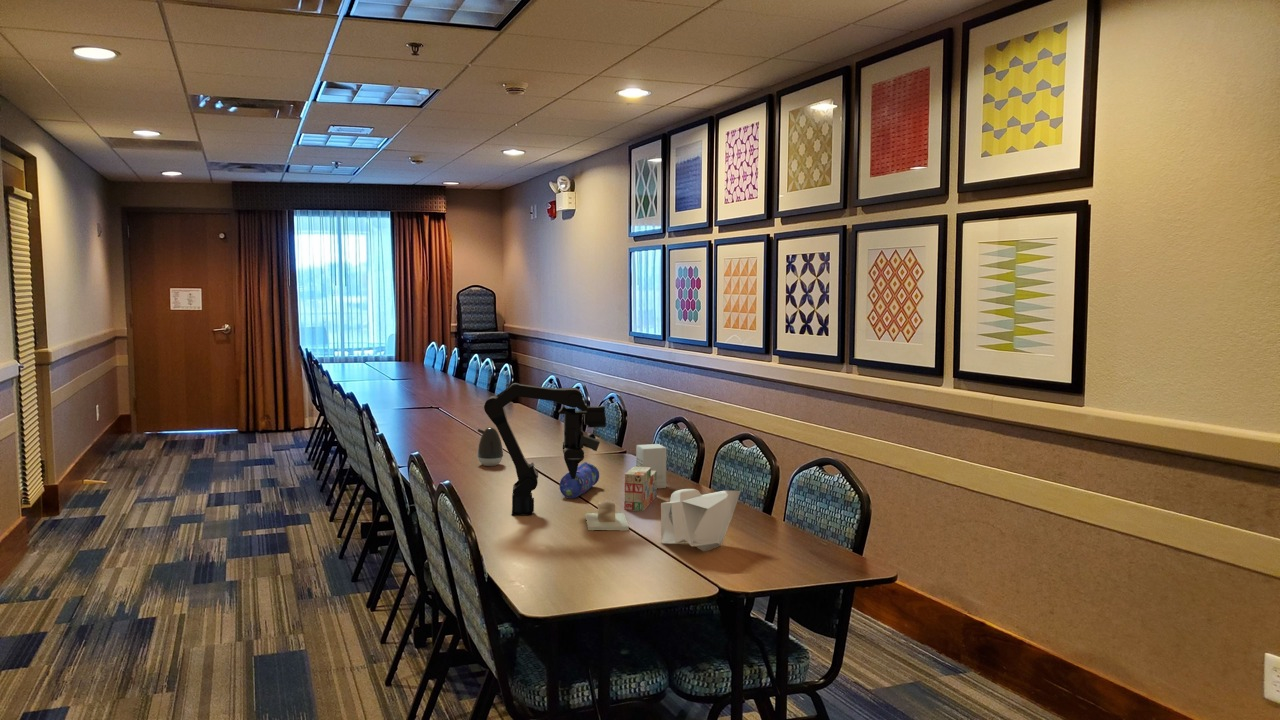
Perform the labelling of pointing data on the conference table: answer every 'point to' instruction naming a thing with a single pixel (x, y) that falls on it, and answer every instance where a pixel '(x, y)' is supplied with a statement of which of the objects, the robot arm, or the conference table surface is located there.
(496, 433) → the grey egg-shaped body
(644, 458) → the supplement box
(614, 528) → the sage board
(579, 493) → the pencil case
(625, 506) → the stack of blocks
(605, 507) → the beige cube
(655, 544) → the conference table surface
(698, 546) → the folded paper
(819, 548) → the conference table surface
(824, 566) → the conference table surface
